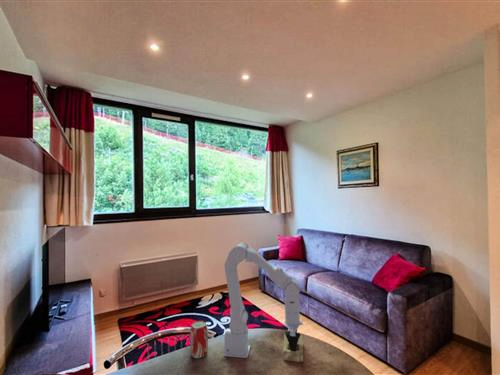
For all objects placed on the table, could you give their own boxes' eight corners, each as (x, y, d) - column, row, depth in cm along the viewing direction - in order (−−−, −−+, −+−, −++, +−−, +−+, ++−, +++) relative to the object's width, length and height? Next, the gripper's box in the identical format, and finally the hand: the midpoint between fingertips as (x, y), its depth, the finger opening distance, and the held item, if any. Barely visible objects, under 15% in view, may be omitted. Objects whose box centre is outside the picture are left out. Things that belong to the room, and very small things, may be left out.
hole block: (283, 360, 97) (283, 351, 97) (284, 342, 109) (284, 334, 109) (303, 362, 96) (303, 352, 96) (302, 344, 107) (301, 335, 108)
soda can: (204, 361, 97) (203, 329, 98) (187, 359, 99) (187, 328, 99) (210, 350, 104) (210, 320, 105) (194, 348, 106) (194, 319, 106)
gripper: (303, 319, 93) (304, 357, 92) (301, 303, 107) (302, 335, 106) (284, 318, 94) (284, 355, 93) (285, 302, 108) (285, 334, 107)
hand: (293, 345), depth 100 cm, fingers open, 7 cm apart
